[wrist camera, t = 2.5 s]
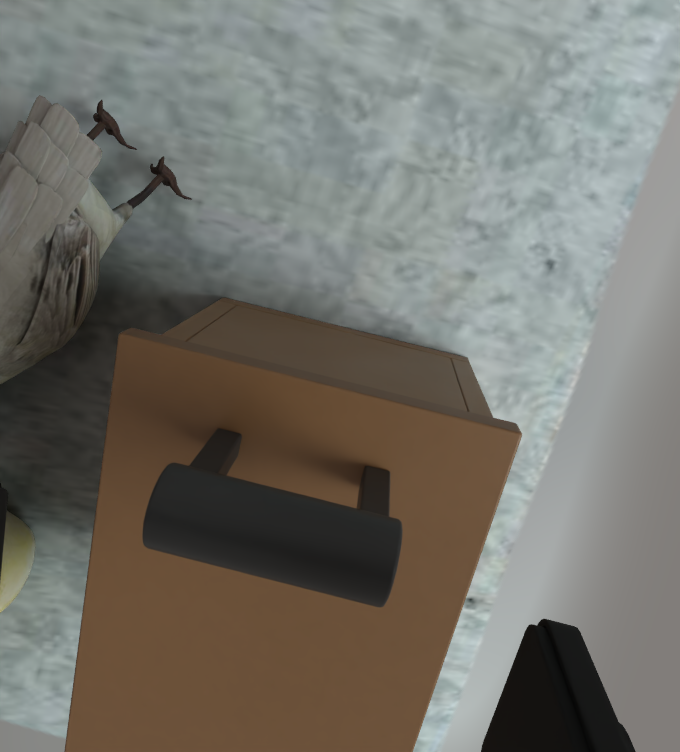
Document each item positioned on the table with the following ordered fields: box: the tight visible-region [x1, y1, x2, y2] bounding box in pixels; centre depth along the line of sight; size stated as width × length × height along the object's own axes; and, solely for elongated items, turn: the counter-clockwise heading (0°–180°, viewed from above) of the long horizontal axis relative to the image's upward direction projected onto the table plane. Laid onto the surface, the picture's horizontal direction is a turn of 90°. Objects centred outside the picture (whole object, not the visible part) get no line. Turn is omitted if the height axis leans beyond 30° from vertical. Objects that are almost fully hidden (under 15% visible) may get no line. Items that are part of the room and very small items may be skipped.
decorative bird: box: [0, 95, 192, 385], centre depth 23 cm, size 5×16×7 cm, turn 138°
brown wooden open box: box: [162, 298, 493, 418], centre depth 24 cm, size 14×11×10 cm
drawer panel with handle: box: [65, 328, 522, 752], centre depth 16 cm, size 14×11×5 cm
